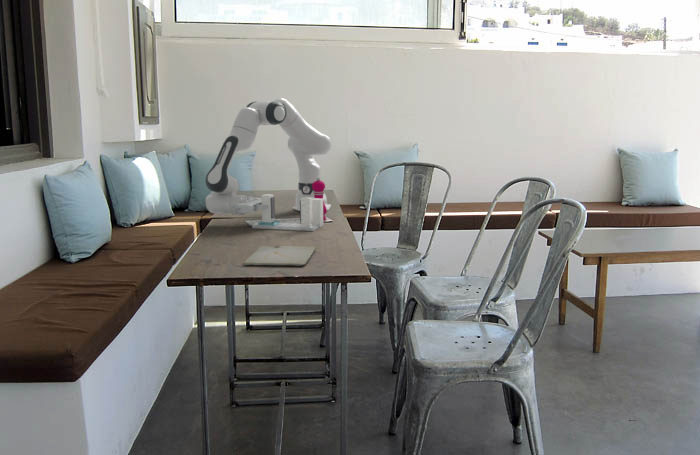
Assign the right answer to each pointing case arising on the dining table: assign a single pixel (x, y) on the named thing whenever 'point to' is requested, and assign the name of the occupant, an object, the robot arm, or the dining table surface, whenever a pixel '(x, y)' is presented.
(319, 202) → the block
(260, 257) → the decorative slab
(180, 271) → the dining table surface
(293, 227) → the rail
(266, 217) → the tall white upright block
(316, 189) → the pepper mill
